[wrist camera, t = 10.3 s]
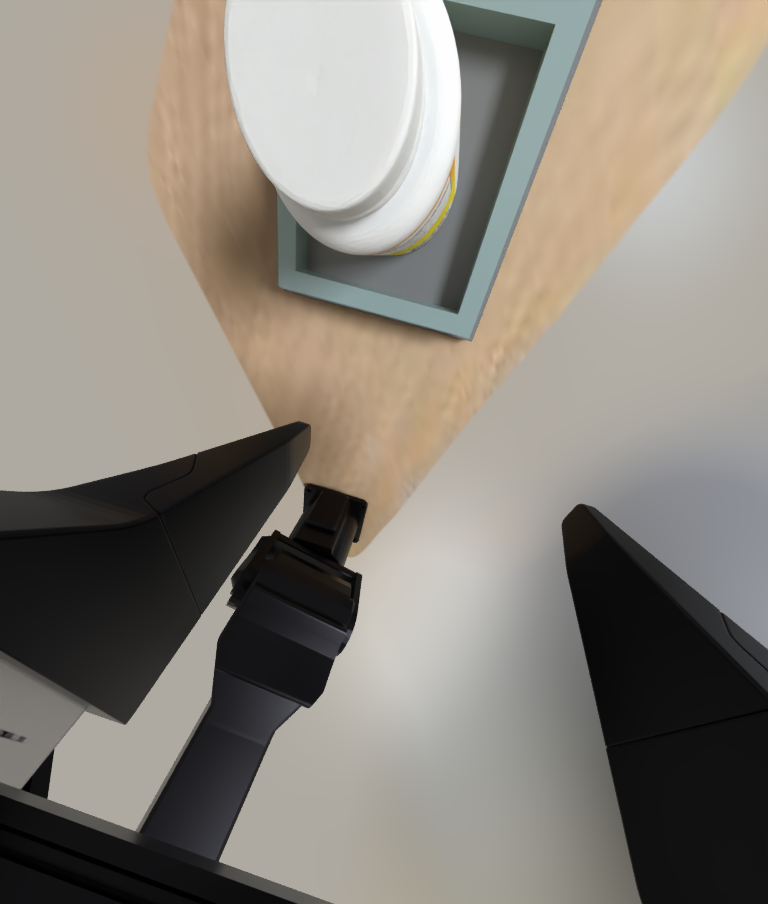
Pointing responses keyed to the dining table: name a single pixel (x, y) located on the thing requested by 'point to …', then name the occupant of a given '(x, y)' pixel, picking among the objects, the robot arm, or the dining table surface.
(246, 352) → the dining table surface
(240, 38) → the supplement bottle
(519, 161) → the tray
